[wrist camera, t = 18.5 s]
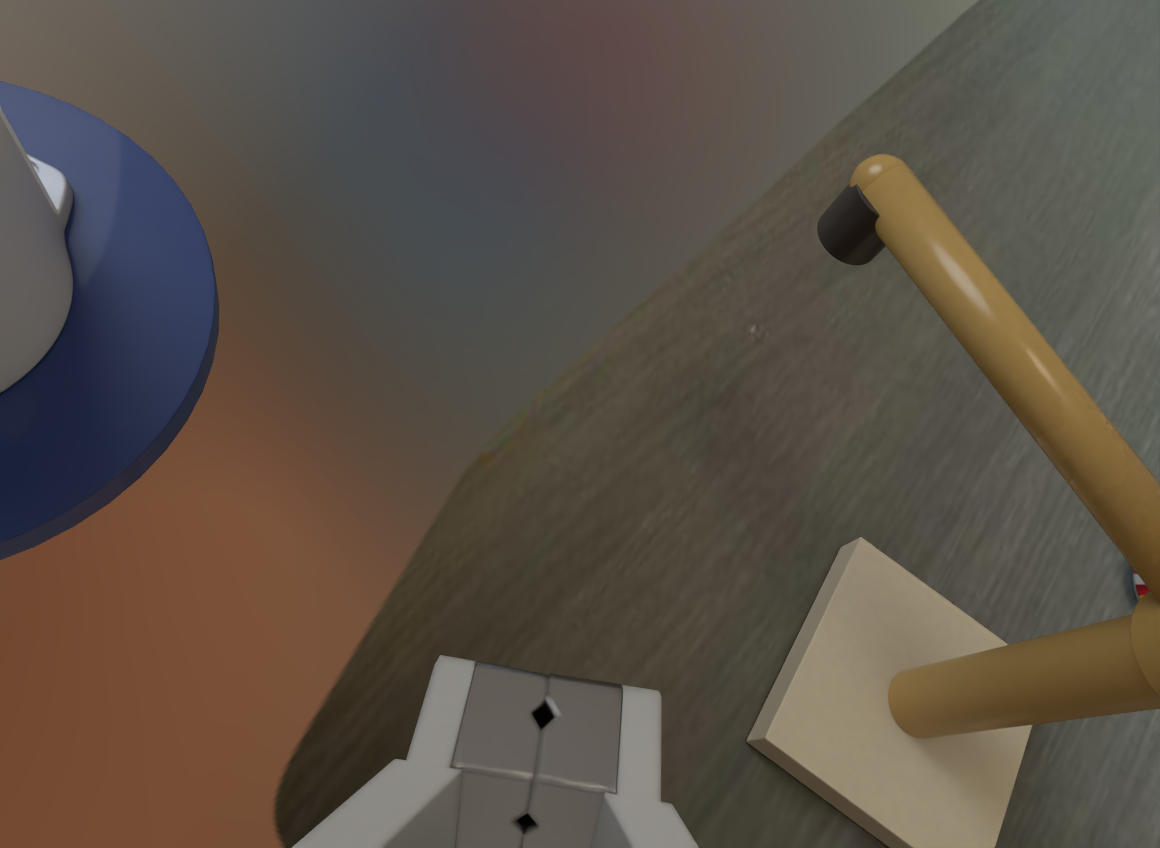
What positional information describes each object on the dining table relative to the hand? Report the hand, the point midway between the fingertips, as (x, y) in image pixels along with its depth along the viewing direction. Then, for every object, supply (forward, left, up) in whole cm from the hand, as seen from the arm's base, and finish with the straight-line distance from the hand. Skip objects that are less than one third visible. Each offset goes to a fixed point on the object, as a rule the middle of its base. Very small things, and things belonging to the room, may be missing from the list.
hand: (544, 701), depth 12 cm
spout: (+11, +20, -12) cm, 26 cm away
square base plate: (+19, +17, -28) cm, 37 cm away
